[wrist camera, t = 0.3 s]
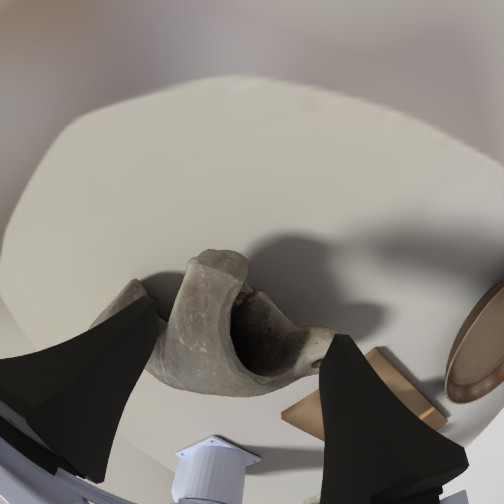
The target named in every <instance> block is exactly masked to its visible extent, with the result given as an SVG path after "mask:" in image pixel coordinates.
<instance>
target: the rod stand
mask: <svg viewBox="0 0 504 504" xmlns="http://www.w3.org/2000/svg"><path fill="white" fill-rule="evenodd" d="M365 358H366V359H367V361H368V362H369V363H370V365H371V366H372V367H373V369H374V370H375V371H376V373H377V374H378V375H379V376H380V378H381V379H382V380H383V381H384V383H385V384H386V385H387V386H388V387H389V389H390V390H391V391H392V392H393V393H394V394H395V395H396V397H397V398H398V399H399V400H400V401H401V402H402V403H403V404H404V405H405V406H406V407H407V408H408V409H409V410H410V411H412V412H413V413H414V414H415V415H416V416H417V417H418V418H420V419H421V420H422V421H423V422H424V423H426V424H427V425H428V426H430V427H431V428H432V429H434V430H435V431H436V430H438V429H439V428H440V427H442V426H443V425H445V424H446V423H447V422H448V420H447V418H446V417H445V416H444V415H443V414H442V413H441V412H440V411H439V410H438V409H437V408H436V407H435V406H434V405H433V404H432V403H431V402H430V401H429V400H428V399H427V398H426V397H425V396H424V395H423V394H422V393H421V392H420V391H419V390H418V389H417V388H416V387H415V386H414V385H413V384H412V383H411V382H410V381H409V380H408V379H407V378H406V377H405V376H404V375H403V374H402V373H401V372H400V371H399V370H398V369H397V368H396V367H395V366H394V365H393V364H392V363H391V362H390V361H389V360H388V359H387V358H386V357H385V356H384V355H383V354H382V353H381V352H380V351H379V350H378V349H377V348H376V347H375V348H374V349H372V350H371V351H370V352H369V353H367V354H366V355H365ZM281 414H282V420H284V421H286V422H288V423H289V424H291V425H293V426H295V427H297V428H299V429H301V430H303V431H304V432H306V433H308V434H310V435H312V436H314V437H316V438H318V439H320V440H322V441H325V440H324V427H323V418H322V410H321V401H320V393H319V389H318V390H317V391H315V392H313V393H312V394H310V395H309V396H307V397H306V398H304V399H303V400H301V401H299V402H298V403H296V404H295V405H293V406H291V407H290V408H288V409H286V410H285V411H283V412H281Z"/></svg>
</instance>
